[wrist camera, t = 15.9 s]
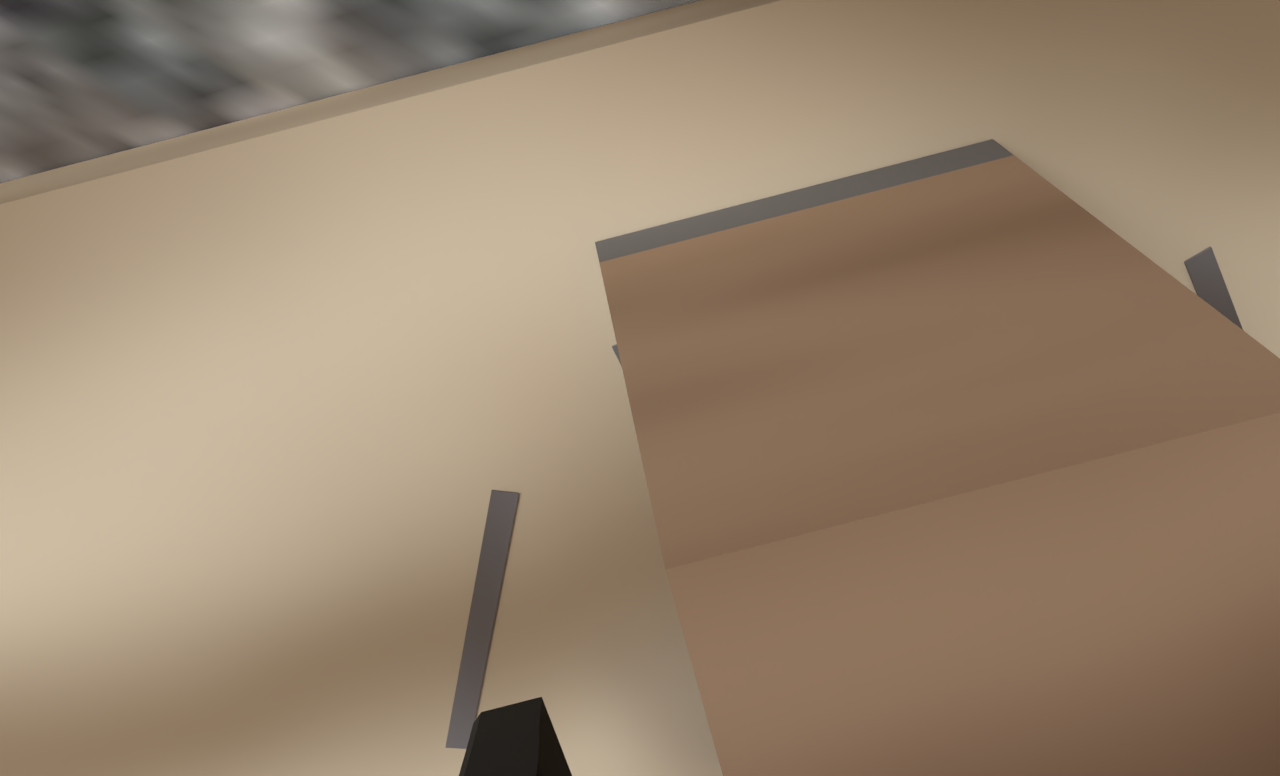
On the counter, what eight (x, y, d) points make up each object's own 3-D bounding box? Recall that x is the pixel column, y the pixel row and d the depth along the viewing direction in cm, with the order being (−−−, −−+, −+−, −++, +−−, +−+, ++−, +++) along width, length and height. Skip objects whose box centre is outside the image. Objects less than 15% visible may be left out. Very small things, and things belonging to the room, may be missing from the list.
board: (1621, 689, 17) (1669, 729, 17) (174, 1053, 18) (162, 1107, 17) (1976, -334, 10) (2086, -341, 10) (-458, 302, 11) (-525, 341, 10)
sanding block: (1025, 701, 15) (1246, 1091, 10) (737, 774, 15) (838, 1192, 10) (993, 139, 11) (1333, 398, 6) (594, 242, 11) (665, 571, 6)
